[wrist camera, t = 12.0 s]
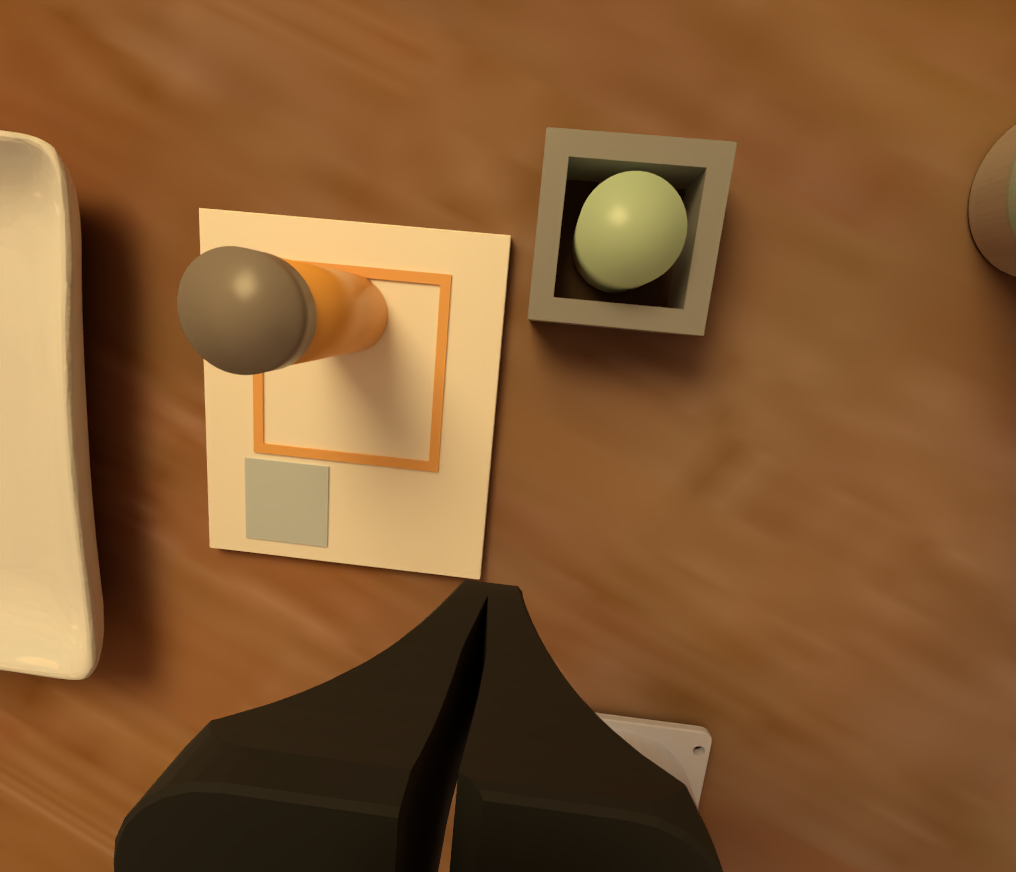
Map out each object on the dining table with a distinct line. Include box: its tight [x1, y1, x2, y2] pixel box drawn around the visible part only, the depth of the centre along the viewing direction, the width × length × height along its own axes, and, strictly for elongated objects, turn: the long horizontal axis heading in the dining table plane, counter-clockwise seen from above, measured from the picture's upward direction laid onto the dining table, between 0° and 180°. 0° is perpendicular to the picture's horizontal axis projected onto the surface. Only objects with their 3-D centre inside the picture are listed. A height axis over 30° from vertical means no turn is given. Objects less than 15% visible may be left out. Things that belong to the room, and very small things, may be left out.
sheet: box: [199, 208, 511, 579], centre depth 21 cm, size 14×12×1 cm
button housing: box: [528, 127, 737, 336], centre depth 18 cm, size 6×6×2 cm
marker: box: [177, 246, 388, 375], centre depth 16 cm, size 3×3×7 cm
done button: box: [572, 171, 687, 293], centre depth 17 cm, size 3×3×3 cm
